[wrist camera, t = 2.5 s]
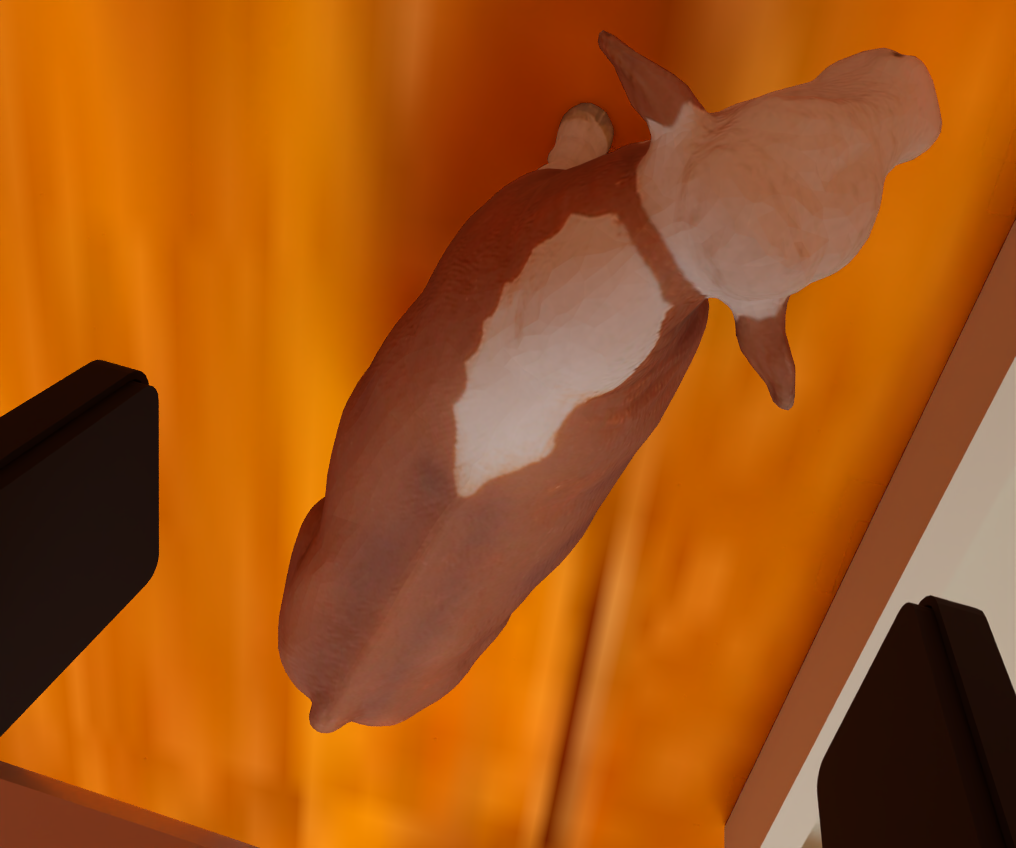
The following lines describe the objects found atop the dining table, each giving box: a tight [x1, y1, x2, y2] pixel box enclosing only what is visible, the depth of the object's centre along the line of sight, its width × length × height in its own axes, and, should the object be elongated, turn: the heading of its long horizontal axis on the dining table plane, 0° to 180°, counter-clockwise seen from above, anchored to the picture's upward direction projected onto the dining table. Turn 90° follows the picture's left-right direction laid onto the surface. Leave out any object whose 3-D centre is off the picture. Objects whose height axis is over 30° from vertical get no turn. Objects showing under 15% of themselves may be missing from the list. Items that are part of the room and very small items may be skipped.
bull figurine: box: [278, 30, 942, 733], centre depth 14 cm, size 4×13×8 cm, turn 146°
